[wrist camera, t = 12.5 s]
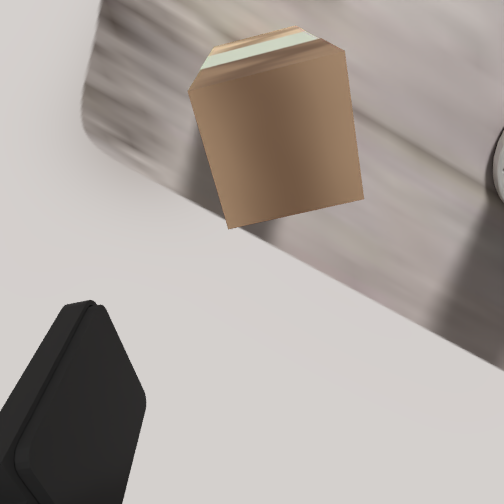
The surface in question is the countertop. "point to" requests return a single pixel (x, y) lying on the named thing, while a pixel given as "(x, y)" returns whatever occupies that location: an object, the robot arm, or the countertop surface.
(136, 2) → the countertop surface
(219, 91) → the walnut block
